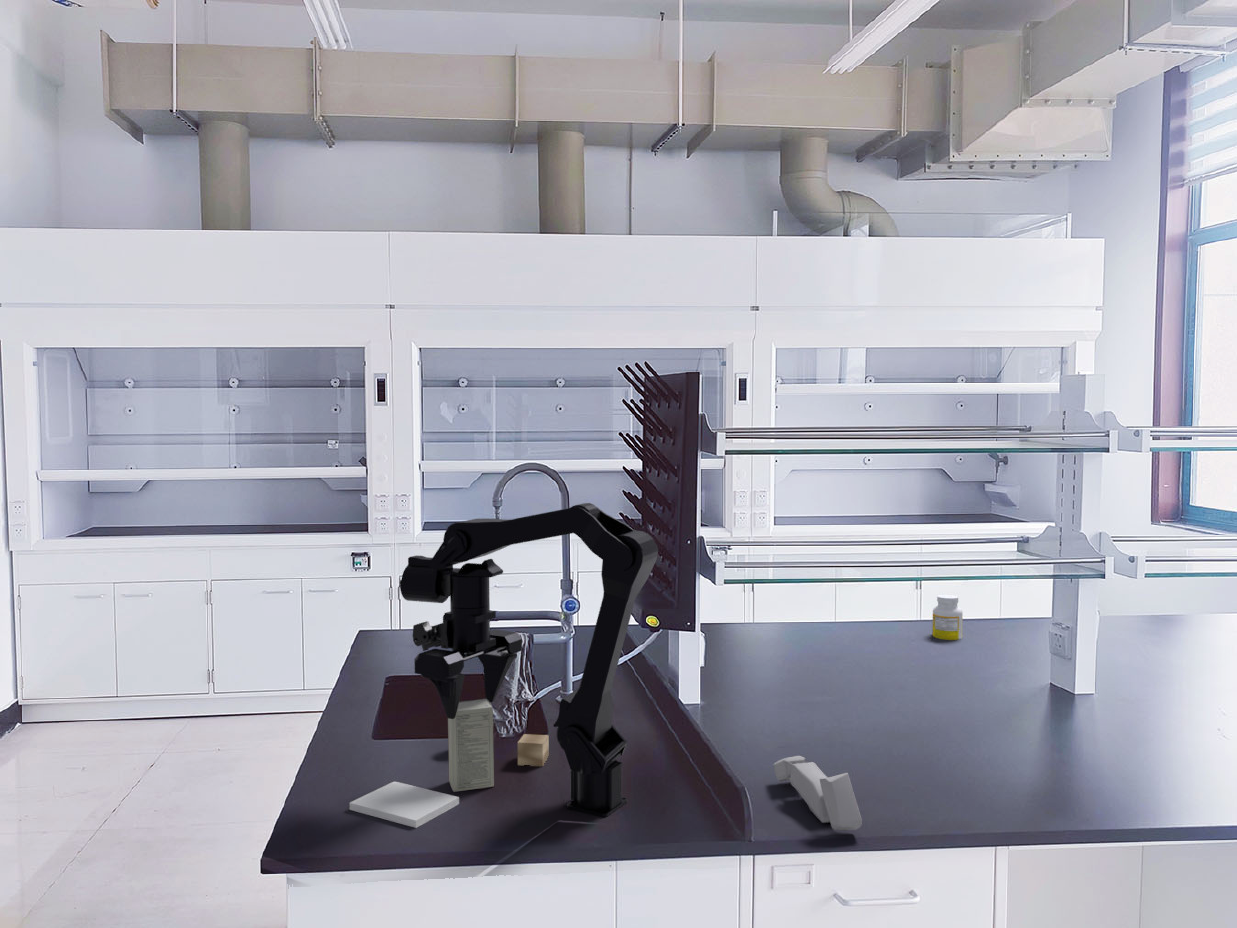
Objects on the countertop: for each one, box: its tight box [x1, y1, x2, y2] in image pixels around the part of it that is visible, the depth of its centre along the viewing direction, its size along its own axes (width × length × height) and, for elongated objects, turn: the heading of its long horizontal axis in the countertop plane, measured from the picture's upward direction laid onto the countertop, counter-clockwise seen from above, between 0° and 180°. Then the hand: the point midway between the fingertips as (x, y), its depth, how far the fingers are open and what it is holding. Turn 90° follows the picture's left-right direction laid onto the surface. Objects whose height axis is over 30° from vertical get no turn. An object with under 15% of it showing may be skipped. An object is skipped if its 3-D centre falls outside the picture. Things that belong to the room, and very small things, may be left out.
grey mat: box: [349, 781, 460, 829], centre depth 134 cm, size 12×9×1 cm
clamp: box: [773, 755, 863, 832], centre depth 134 cm, size 20×4×7 cm, turn 15°
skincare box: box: [447, 698, 495, 793], centre depth 142 cm, size 6×4×12 cm
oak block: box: [517, 733, 550, 767], centre depth 151 cm, size 4×4×4 cm
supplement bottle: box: [932, 594, 964, 641], centre depth 225 cm, size 7×7×13 cm
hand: (471, 709), depth 141 cm, fingers open, 9 cm apart
